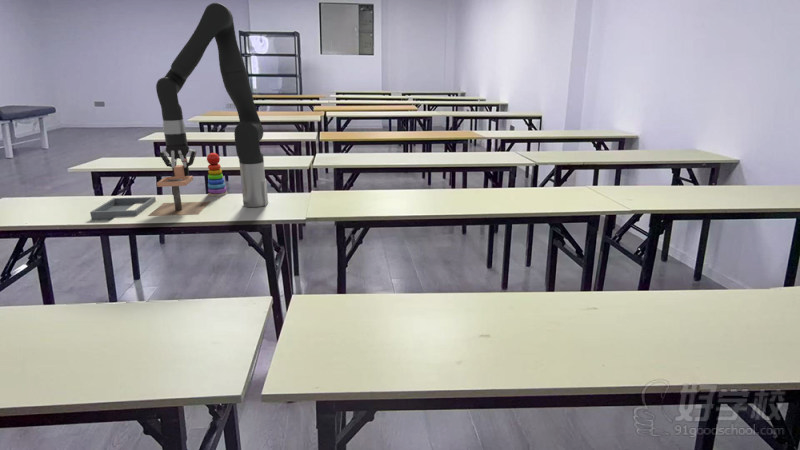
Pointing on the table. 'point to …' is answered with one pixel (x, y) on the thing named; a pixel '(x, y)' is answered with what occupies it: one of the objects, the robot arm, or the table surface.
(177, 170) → the tan piece
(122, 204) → the tray
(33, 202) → the table surface
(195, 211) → the stake board
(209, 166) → the stacking toy
